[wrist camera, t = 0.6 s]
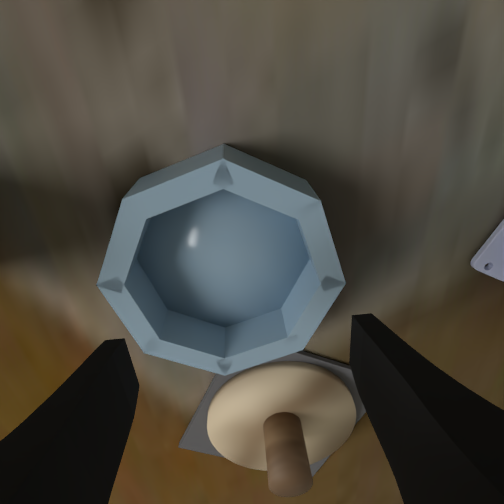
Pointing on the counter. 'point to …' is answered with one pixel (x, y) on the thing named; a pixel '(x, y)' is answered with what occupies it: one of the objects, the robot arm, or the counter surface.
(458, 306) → the counter surface
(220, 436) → the lid
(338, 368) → the mat
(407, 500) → the robot arm
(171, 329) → the bowl
